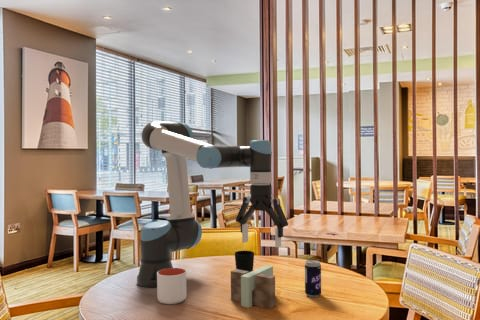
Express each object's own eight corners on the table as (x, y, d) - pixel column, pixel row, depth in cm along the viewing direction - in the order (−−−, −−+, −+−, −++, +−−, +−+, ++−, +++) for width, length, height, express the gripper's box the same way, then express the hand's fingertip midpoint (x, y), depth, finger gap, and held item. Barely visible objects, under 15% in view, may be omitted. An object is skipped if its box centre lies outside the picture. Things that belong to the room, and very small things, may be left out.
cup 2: (252, 287, 159) (252, 255, 159) (233, 286, 161) (232, 254, 160) (256, 280, 167) (255, 250, 166) (237, 280, 168) (236, 250, 168)
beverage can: (311, 298, 146) (311, 264, 145) (301, 294, 151) (301, 260, 150) (324, 296, 148) (324, 262, 148) (314, 291, 153) (314, 258, 153)
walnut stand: (230, 299, 146) (230, 270, 146) (235, 297, 148) (235, 268, 148) (270, 308, 137) (270, 278, 137) (275, 306, 139) (275, 276, 139)
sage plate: (248, 307, 138) (248, 277, 138) (241, 306, 140) (240, 276, 139) (273, 293, 151) (272, 266, 151) (266, 292, 153) (265, 265, 153)
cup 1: (173, 307, 139) (172, 277, 139) (151, 302, 144) (150, 273, 144) (192, 298, 148) (191, 270, 147) (170, 293, 153) (170, 266, 153)
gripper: (225, 183, 151) (226, 242, 152) (287, 186, 137) (287, 250, 138) (237, 182, 157) (238, 238, 158) (297, 184, 143) (298, 246, 144)
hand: (261, 244), depth 148 cm, fingers open, 13 cm apart
